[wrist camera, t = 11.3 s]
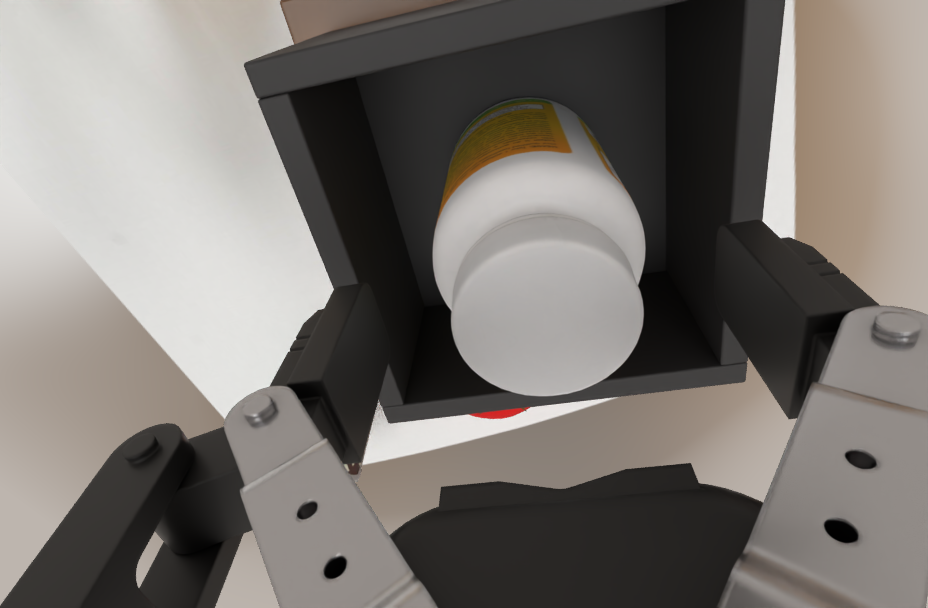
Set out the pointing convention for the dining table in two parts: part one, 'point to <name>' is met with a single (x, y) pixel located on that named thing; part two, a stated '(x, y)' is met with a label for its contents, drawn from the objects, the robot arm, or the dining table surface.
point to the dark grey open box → (537, 76)
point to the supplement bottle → (538, 251)
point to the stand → (342, 14)
